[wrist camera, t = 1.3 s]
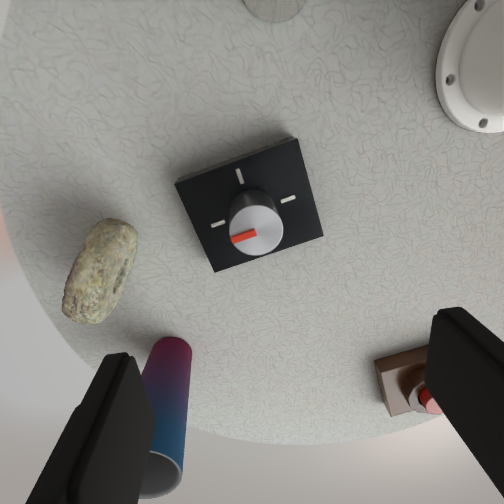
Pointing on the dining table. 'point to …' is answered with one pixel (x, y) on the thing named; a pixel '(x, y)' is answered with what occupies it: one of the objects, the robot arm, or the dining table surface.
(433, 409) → the button
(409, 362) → the button block
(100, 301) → the stone ring
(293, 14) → the beer glass
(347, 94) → the dining table surface
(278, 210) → the plate
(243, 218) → the tap knob
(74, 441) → the robot arm
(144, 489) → the cup
